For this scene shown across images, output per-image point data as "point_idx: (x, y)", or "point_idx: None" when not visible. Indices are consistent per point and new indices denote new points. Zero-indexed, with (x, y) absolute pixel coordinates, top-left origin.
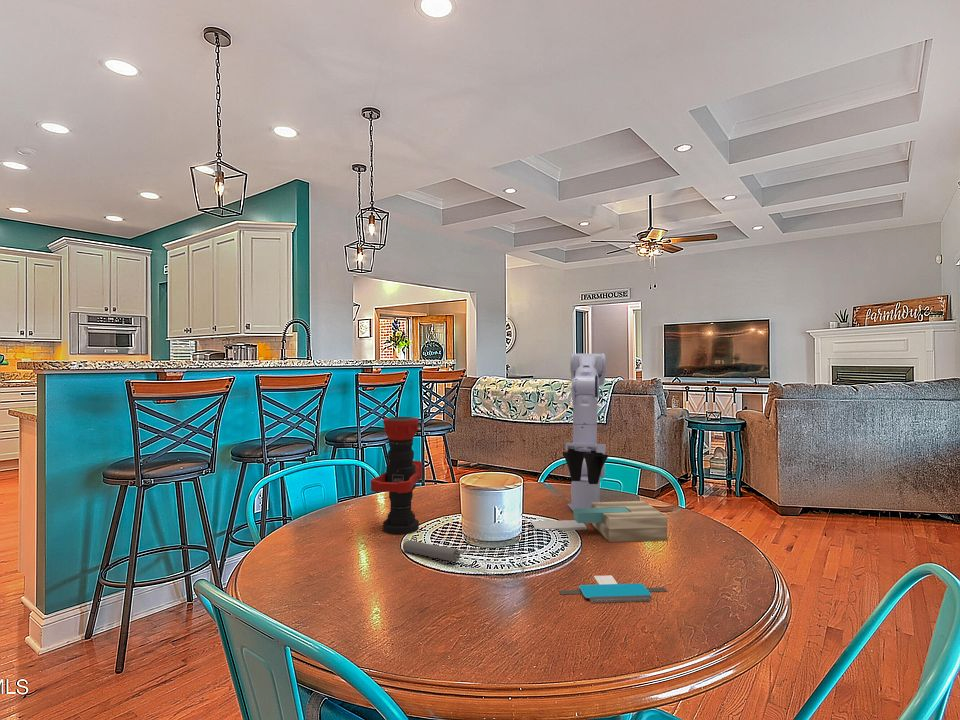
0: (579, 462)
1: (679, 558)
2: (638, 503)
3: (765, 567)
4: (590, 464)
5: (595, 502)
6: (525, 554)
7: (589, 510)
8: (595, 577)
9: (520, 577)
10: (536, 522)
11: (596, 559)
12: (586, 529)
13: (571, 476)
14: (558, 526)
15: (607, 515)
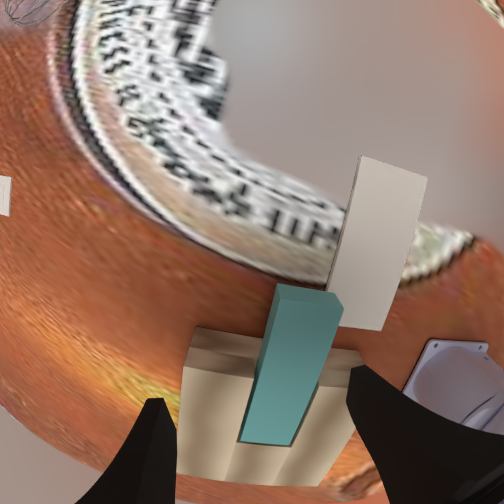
0: (392, 483)
1: (83, 392)
2: (304, 474)
3: (60, 449)
4: (90, 492)
5: None
6: (167, 49)
7: (298, 352)
8: (5, 177)
9: (37, 20)
10: (414, 189)
11: (85, 229)
12: None
13: (366, 380)
14: (356, 240)
15: (222, 378)
